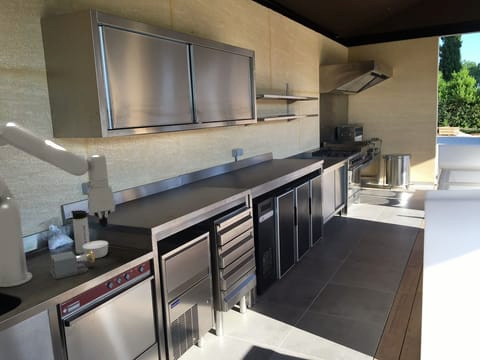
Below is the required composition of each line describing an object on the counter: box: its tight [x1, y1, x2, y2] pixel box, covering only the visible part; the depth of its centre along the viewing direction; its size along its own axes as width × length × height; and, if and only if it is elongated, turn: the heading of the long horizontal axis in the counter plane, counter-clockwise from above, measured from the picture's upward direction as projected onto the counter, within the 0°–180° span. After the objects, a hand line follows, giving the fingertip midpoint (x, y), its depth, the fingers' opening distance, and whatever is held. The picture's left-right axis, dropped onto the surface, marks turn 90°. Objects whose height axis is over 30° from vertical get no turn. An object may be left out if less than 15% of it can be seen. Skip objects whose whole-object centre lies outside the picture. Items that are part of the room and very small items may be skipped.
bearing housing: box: [49, 250, 89, 280], centre depth 168 cm, size 13×9×7 cm
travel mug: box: [71, 209, 91, 255], centre depth 191 cm, size 6×7×20 cm
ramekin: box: [82, 240, 109, 259], centre depth 188 cm, size 11×11×5 cm
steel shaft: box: [75, 250, 96, 264], centre depth 171 cm, size 11×5×5 cm, turn 123°
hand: (103, 226), depth 175 cm, fingers closed
